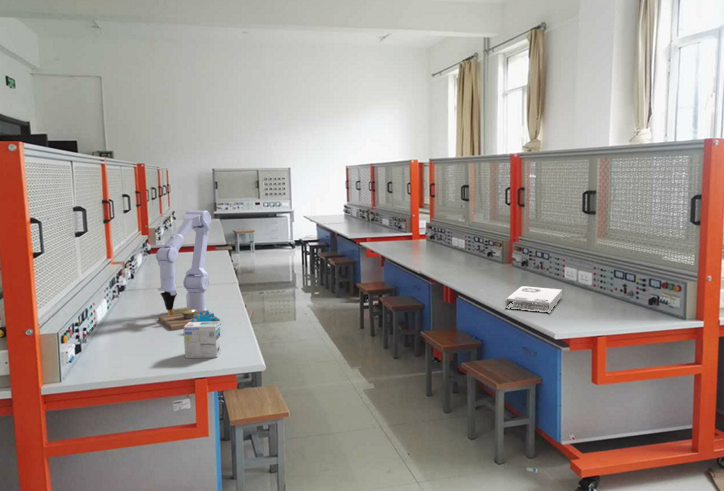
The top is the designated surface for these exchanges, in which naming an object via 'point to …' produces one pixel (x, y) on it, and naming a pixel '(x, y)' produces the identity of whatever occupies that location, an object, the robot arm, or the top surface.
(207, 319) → the gear
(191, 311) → the lever handle
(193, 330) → the light bulb box
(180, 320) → the board
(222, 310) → the top surface
